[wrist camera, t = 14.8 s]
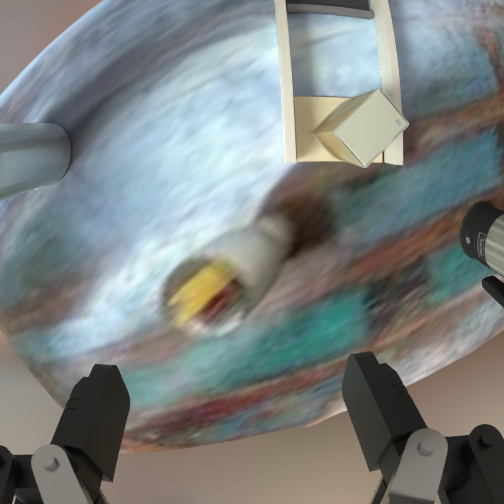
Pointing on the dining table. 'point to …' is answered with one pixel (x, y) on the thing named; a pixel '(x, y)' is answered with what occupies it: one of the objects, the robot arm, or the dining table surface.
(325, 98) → the pad
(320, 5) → the tray
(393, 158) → the channel
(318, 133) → the skincare box
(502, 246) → the milk frother
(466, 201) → the dining table surface
